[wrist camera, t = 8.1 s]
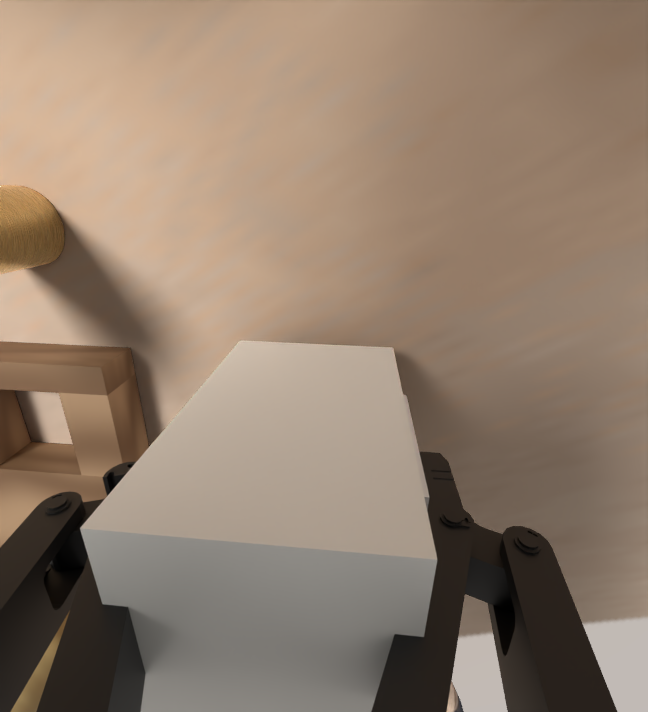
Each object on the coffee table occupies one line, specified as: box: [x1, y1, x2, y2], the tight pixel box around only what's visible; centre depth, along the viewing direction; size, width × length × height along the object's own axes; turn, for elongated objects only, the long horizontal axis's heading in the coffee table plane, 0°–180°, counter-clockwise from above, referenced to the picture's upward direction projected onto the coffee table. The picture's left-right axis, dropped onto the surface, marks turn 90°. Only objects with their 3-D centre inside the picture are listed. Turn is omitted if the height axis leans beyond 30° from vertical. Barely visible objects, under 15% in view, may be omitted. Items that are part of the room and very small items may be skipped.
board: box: [0, 342, 149, 712], centre depth 19 cm, size 20×10×12 cm, turn 179°
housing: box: [80, 340, 437, 712], centre depth 14 cm, size 7×7×11 cm
